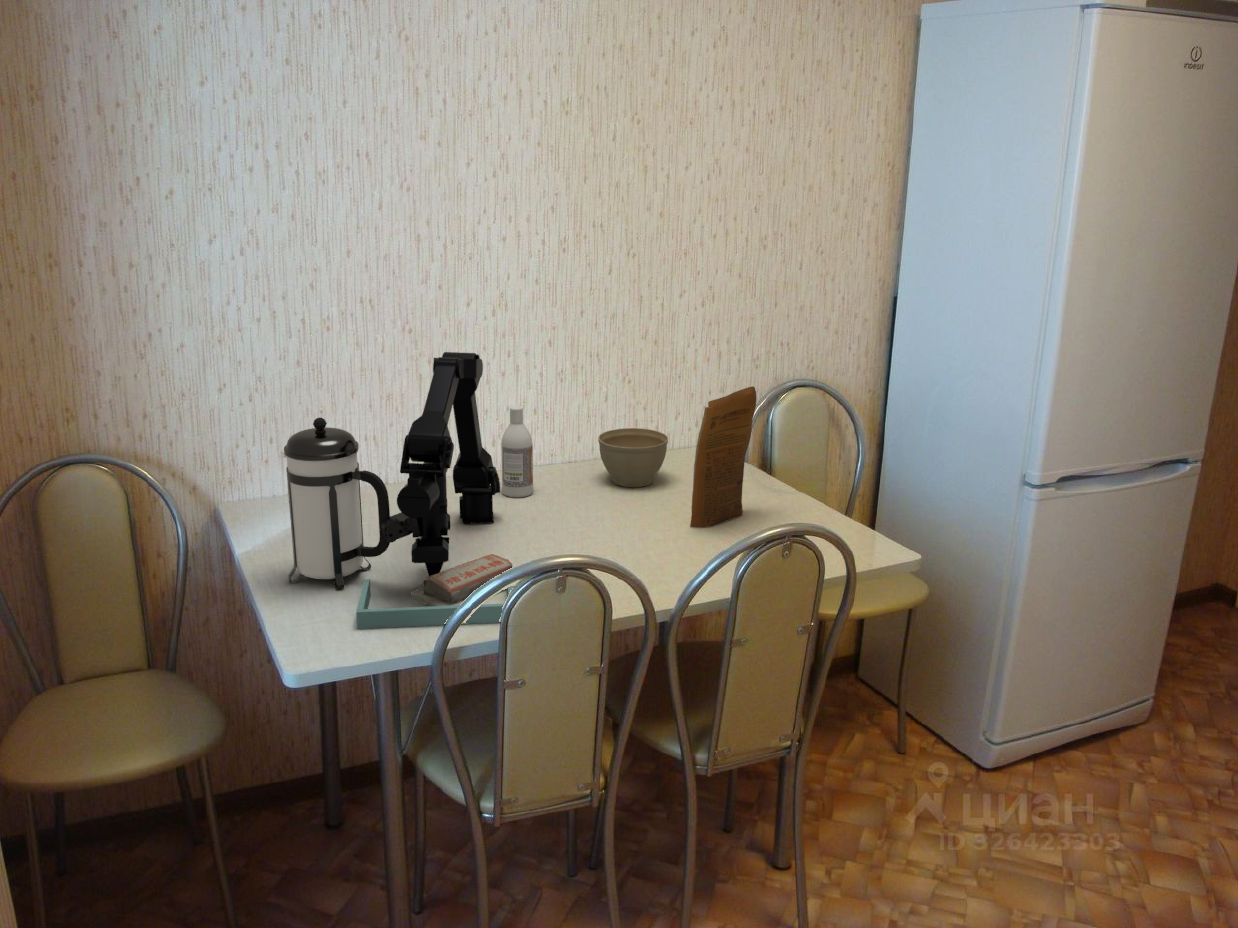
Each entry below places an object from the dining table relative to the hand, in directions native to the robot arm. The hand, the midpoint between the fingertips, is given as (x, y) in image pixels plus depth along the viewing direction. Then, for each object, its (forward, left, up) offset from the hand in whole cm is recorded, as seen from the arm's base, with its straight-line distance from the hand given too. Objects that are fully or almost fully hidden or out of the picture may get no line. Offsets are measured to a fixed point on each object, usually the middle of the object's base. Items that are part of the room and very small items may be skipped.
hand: (433, 580), depth 195 cm
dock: (-1, +9, -1) cm, 9 cm away
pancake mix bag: (-59, -30, -1) cm, 66 cm away
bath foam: (-17, -51, -1) cm, 53 cm away
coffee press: (+18, -7, -1) cm, 19 cm away
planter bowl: (-44, -57, -1) cm, 72 cm away
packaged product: (-6, +2, -2) cm, 7 cm away
